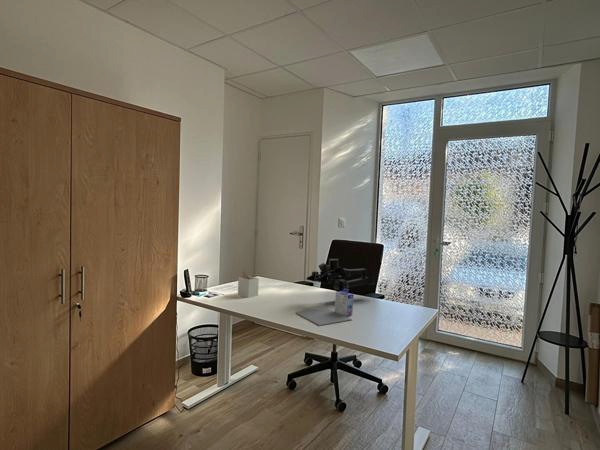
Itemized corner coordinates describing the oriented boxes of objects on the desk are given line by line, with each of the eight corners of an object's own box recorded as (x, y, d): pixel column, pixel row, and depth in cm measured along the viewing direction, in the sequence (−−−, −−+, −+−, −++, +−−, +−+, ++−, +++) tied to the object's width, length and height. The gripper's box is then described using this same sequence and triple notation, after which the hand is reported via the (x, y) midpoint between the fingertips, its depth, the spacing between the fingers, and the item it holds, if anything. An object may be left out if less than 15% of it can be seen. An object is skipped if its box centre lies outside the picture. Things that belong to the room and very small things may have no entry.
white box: (247, 293, 251) (247, 270, 250) (258, 296, 244) (258, 272, 243) (237, 295, 244) (238, 271, 243) (248, 298, 237) (249, 273, 236)
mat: (326, 308, 217) (326, 307, 217) (351, 320, 197) (351, 319, 197) (295, 313, 206) (295, 312, 206) (319, 326, 185) (319, 324, 185)
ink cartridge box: (353, 314, 207) (354, 290, 206) (346, 316, 203) (348, 291, 203) (340, 310, 214) (341, 287, 214) (334, 312, 211) (335, 288, 210)
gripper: (321, 262, 238) (301, 265, 230) (338, 263, 222) (317, 267, 214) (323, 278, 238) (303, 282, 230) (339, 281, 222) (319, 285, 214)
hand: (310, 279), depth 222 cm, fingers open, 9 cm apart
